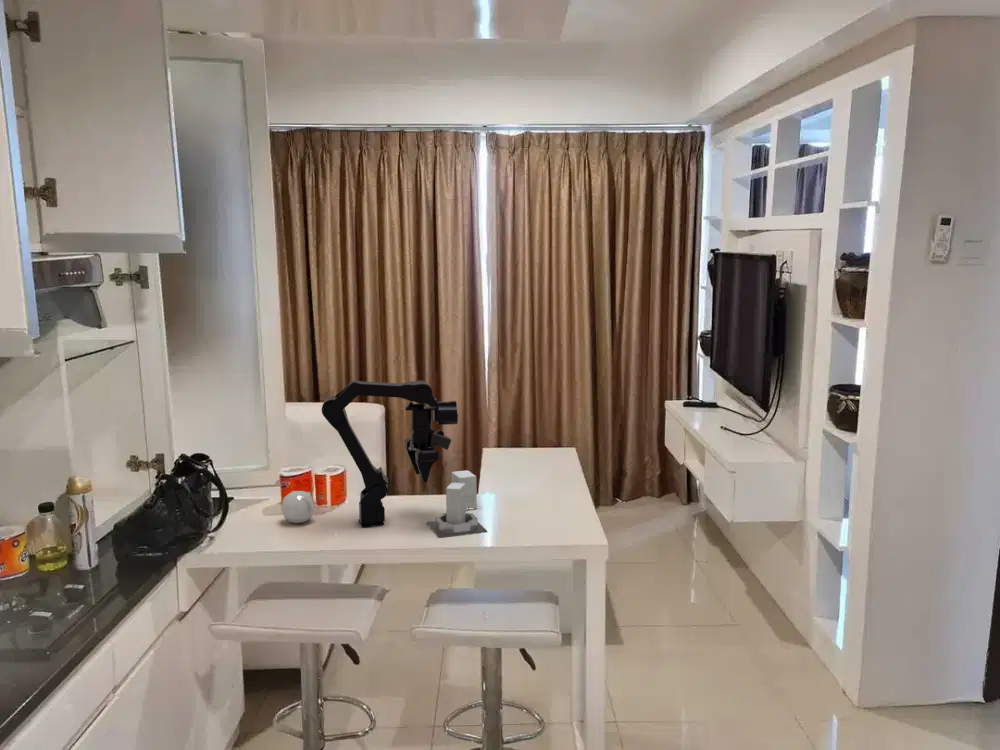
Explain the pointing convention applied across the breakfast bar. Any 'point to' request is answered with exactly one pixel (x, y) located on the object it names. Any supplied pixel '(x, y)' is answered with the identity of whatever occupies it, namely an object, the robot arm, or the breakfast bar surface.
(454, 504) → the skincare box
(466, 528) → the grey octagonal ring base
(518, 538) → the breakfast bar surface
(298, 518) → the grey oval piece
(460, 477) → the small box
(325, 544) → the breakfast bar surface
